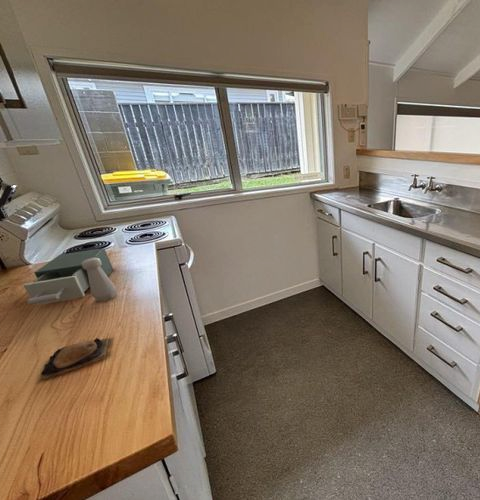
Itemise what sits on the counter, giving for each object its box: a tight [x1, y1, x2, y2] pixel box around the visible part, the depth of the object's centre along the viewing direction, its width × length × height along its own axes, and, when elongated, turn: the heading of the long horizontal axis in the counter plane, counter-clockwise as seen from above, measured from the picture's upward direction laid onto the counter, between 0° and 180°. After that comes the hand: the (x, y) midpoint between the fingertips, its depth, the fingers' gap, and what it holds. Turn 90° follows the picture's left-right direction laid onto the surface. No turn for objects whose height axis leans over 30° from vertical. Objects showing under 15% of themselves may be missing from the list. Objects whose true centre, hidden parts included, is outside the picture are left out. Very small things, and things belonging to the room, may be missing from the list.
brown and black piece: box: [40, 337, 109, 381], centre depth 62 cm, size 11×8×4 cm
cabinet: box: [34, 247, 114, 291], centre depth 95 cm, size 15×13×9 cm
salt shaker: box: [81, 258, 117, 302], centre depth 84 cm, size 6×6×13 cm
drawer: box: [23, 268, 90, 307], centre depth 86 cm, size 19×12×7 cm, turn 21°
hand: (1, 220), depth 79 cm, fingers closed
